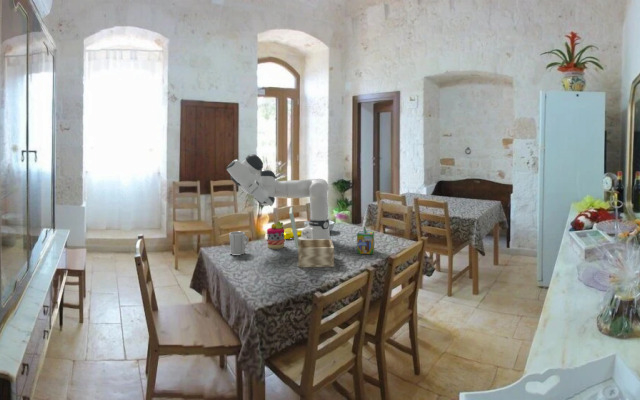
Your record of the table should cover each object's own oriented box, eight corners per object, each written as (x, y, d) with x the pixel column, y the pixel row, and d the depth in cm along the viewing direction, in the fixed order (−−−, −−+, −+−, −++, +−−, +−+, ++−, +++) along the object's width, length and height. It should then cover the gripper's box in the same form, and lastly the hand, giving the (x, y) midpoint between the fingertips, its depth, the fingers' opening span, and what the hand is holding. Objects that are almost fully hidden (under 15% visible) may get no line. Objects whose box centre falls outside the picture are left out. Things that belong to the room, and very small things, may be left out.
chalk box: (373, 254, 259) (373, 228, 257) (356, 254, 261) (356, 228, 259) (374, 250, 268) (374, 225, 266) (358, 250, 270) (358, 225, 268)
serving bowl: (337, 234, 314) (337, 224, 313) (306, 235, 311) (306, 225, 310) (331, 228, 335) (331, 219, 334) (302, 229, 331) (302, 220, 330)
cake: (278, 249, 272) (277, 224, 270) (263, 247, 277) (263, 223, 275) (288, 246, 281) (287, 221, 279) (273, 244, 286) (273, 220, 284)
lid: (298, 248, 234) (295, 248, 234) (298, 239, 254) (295, 239, 254) (291, 213, 232) (288, 213, 232) (292, 207, 251) (289, 207, 251)
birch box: (298, 267, 235) (298, 248, 234) (298, 257, 255) (298, 239, 254) (334, 266, 236) (334, 247, 235) (331, 256, 256) (331, 239, 255)
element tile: (290, 233, 319) (289, 226, 318) (304, 237, 308) (304, 230, 307) (272, 237, 309) (272, 229, 308) (286, 240, 298) (286, 233, 297)
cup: (234, 251, 270) (233, 230, 268) (249, 251, 268) (248, 231, 266) (227, 255, 260) (226, 234, 258) (242, 256, 258) (242, 235, 256)
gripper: (250, 187, 248) (269, 206, 250) (246, 192, 228) (266, 212, 230) (259, 179, 248) (277, 198, 250) (255, 183, 228) (275, 203, 230)
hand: (272, 205), depth 240 cm, fingers closed
